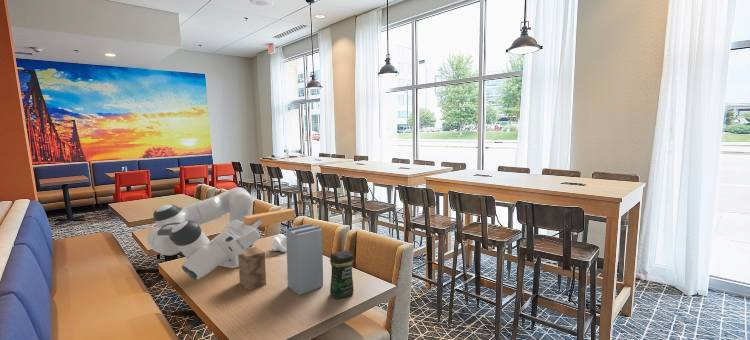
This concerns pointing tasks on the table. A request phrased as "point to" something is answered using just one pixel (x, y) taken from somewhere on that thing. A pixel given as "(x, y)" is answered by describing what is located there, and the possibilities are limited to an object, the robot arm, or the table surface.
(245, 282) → the brown piece
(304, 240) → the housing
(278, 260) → the table surface
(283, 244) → the crumpled paper ball
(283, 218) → the tan wooden bar
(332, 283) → the coffee jar
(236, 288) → the table surface
